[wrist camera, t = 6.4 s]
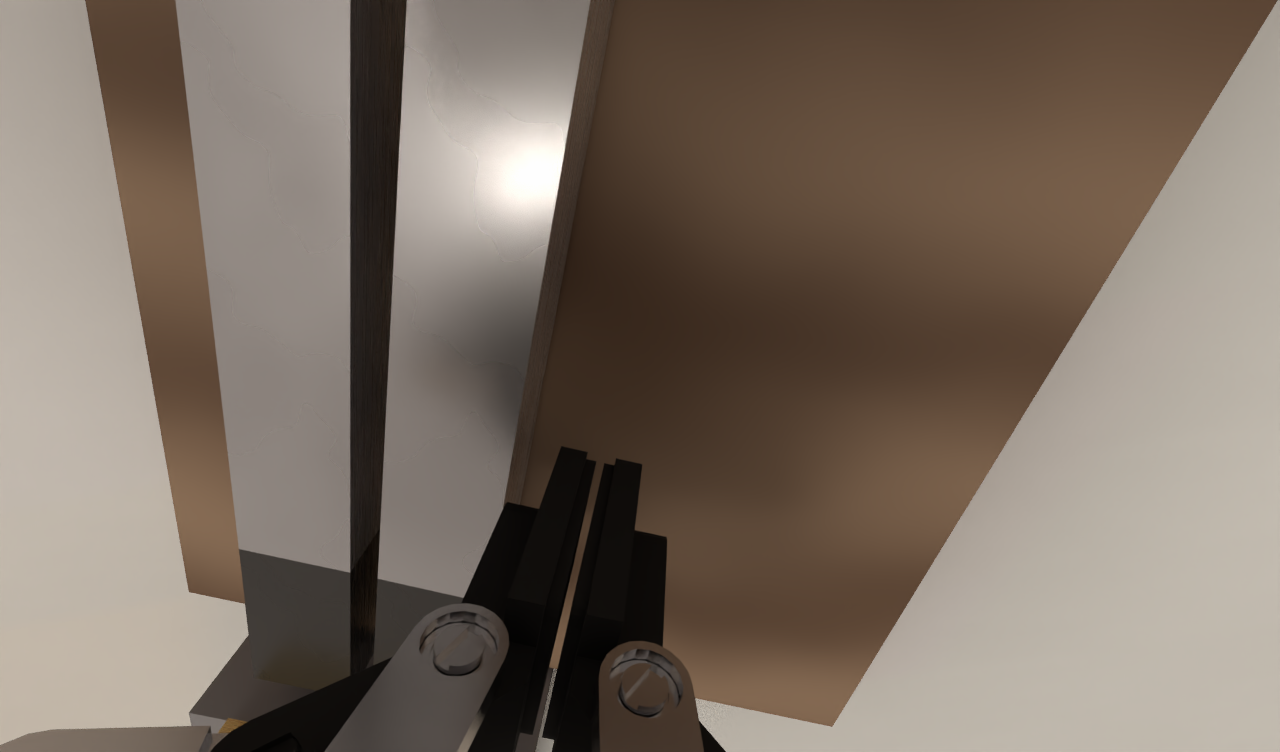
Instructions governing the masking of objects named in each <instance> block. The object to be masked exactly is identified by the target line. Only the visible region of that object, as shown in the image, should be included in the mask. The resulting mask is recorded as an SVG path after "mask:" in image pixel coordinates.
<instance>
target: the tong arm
mask: <svg viewBox="0 0 1280 752" xmlns="http://www.w3.org/2000/svg"><path fill="white" fill-rule="evenodd" d="M614 2H615V0H407V6H406V26H405V46H404V66H403V86H402V106H401V126H400V146H399V165H398V185H397V205H396V225H395V245H394V265H393V285H392V305H391V324H390V344H389V364H388V384H387V404H386V424H385V444H384V464H383V484H382V503H381V523H380V543H379V563H378V583H377V603H376V623H375V643H374V662H373V665H375V664H378V663H380V662H382V661H384V660H387V659H389V658H391V657H393V656H394V655H395V653H396V652H397V651H398V649H399V648H400V646H401V645H402V644H403V642H404V641H405V640H406V638H407V637H408V635H409V634H410V633H411V631H412V630H413V628H414V627H415V626H416V625H417V624H418V623H419V622H420V621H421V620H422V619H423V618H424V617H425V616H426V615H427V614H429V613H431V612H433V611H434V610H436V609H438V608H441V607H444V606H448V605H451V604H461V603H462V600H463V598H464V596H465V594H466V591H467V589H468V587H469V585H470V582H471V580H472V578H473V575H474V573H475V571H476V569H477V566H478V564H479V562H480V560H481V557H482V555H483V553H484V551H485V548H486V546H487V544H488V542H489V539H490V537H491V535H492V532H493V530H494V528H495V526H496V523H497V521H498V519H499V517H500V514H501V512H502V510H503V508H504V506H505V504H506V503H507V502H510V503H515V504H519V505H520V502H521V496H522V491H523V486H524V480H525V475H526V470H527V464H528V459H529V454H530V449H531V443H532V438H533V433H534V427H535V422H536V417H537V411H538V406H539V401H540V395H541V390H542V385H543V379H544V374H545V369H546V363H547V358H548V353H549V348H550V342H551V337H552V332H553V326H554V321H555V316H556V310H557V305H558V300H559V294H560V289H561V284H562V278H563V273H564V268H565V262H566V257H567V252H568V246H569V241H570V236H571V231H572V225H573V220H574V215H575V209H576V204H577V199H578V193H579V188H580V183H581V177H582V172H583V167H584V161H585V156H586V151H587V145H588V140H589V135H590V130H591V124H592V119H593V114H594V108H595V103H596V98H597V92H598V87H599V82H600V76H601V71H602V66H603V60H604V55H605V50H606V44H607V39H608V34H609V28H610V23H611V18H612V13H613V7H614Z"/></svg>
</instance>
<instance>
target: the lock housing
mask: <svg viewBox="0 0 1280 752" xmlns="http://www.w3.org/2000/svg"><path fill="white" fill-rule="evenodd" d="M373 662H374V654H373V656H372V658H371V659H370V661H369V663H368V665H367V667H366V668H369V667H371V666H373ZM552 673H553V668H550V667H549V669H548V673H547V677H546V682H545V686H544V690H543V694H542V698H541V702H540V707H539V711H538V715H537V719H536V723H535V727H534V731H533V735H528V734H524V733H520V736H519V740H518V744H517V748H516V751H515V752H535V750H536V746H537V741H538V736H539V732H540V727H541V723H542V718H543V714H544V709H545V705H546V700H547V695H548V691H549V686H550V682H551V677H552ZM313 692H315V690H310V689H306V688H301V687H296V686H291V685H286V684H281V683H276V682H271V681H266V680H262V679H257V678H254V676H253V667H252V658H251V650H250V641H249V635H248V637H247V638H246V639H245V641H244V642H243V643H242V645H241V646H240V647H239V648H238V650H237V651H236V652H235V654H234V655H233V656H232V658H231V659H230V660H229V661H228V663H227V664H226V665H225V667H224V668H223V669H222V671H221V672H220V673H219V674H218V676H217V677H216V678H215V680H214V681H213V682H212V684H211V685H210V686H209V687H208V689H207V690H206V691H205V693H204V694H203V695H202V697H201V698H200V699H199V700H198V702H197V703H196V704H195V706H194V707H193V708H192V710H191V711H190V712H189V715H190V720H191V725H192V726H211V733H218V732H219V730H220V729H221V727H222V726H223V725H224V723H225V722H226V720H227V719H228V718H231V719H236V720H241V721H246V722H248V721H250V720H252V719H254V718H257V717H259V716H261V715H263V714H265V713H268V712H270V711H272V710H274V709H277V708H279V707H281V706H283V705H286V704H288V703H290V702H292V701H295V700H297V699H299V698H301V697H304V696H306V695H308V694H310V693H313Z"/></svg>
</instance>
